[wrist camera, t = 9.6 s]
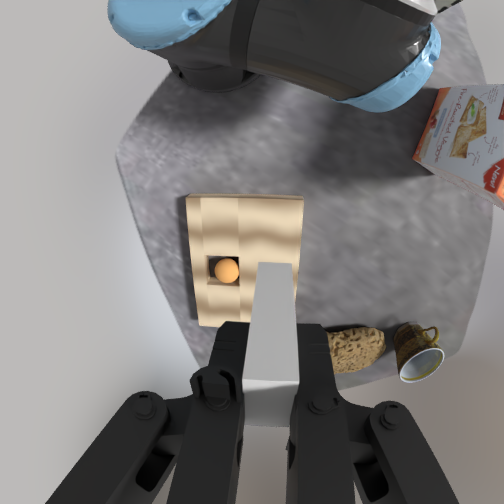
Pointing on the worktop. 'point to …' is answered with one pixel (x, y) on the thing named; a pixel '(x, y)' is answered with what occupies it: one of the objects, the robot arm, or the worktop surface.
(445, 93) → the cracker box
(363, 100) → the robot arm
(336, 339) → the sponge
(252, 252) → the board
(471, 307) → the worktop surface
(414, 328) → the ceramic cup
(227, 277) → the ball
